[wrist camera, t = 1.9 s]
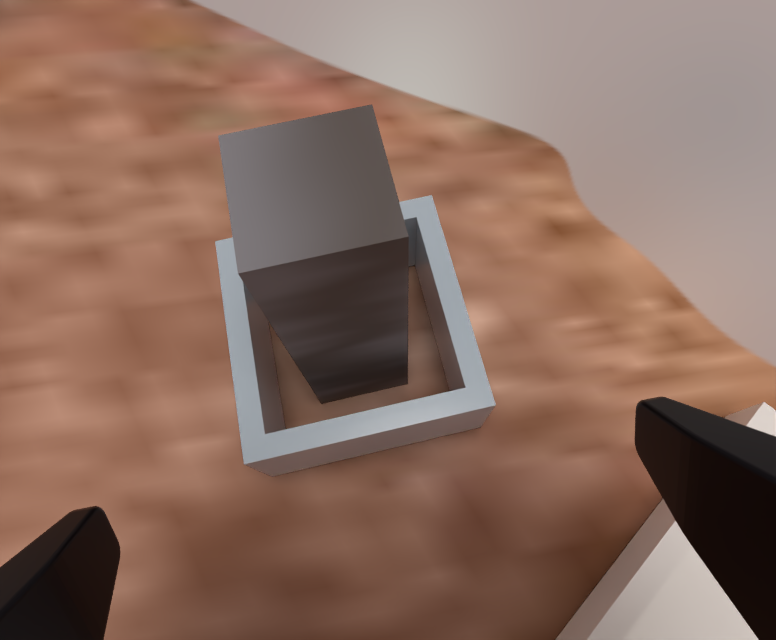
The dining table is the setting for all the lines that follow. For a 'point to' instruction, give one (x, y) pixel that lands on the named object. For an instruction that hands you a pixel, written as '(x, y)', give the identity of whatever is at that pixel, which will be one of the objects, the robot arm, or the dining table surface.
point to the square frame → (372, 427)
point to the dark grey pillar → (323, 246)
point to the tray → (664, 582)
